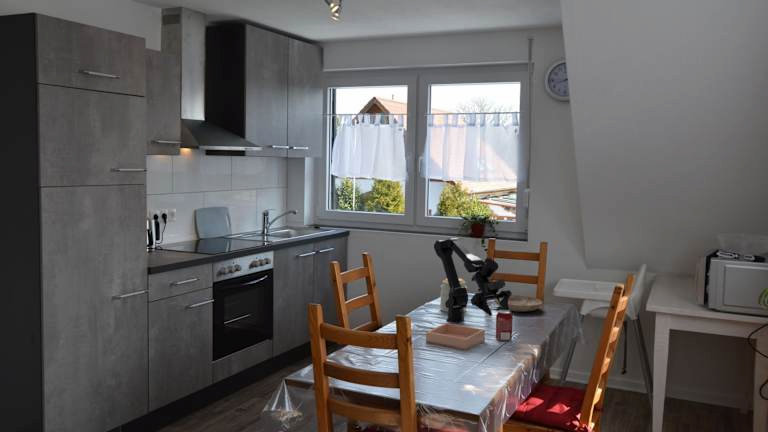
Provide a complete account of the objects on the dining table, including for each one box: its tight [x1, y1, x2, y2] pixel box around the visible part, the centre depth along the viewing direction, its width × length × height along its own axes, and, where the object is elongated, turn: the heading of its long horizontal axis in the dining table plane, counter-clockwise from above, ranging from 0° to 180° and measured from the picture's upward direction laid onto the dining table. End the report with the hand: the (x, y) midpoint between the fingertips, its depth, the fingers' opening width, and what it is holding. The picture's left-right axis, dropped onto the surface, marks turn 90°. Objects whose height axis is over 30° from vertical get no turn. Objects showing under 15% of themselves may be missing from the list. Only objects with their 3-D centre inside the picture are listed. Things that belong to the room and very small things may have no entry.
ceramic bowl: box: [494, 294, 543, 313], centre depth 343 cm, size 23×24×5 cm
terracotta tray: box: [425, 322, 486, 352], centre depth 283 cm, size 18×18×4 cm
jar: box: [439, 277, 468, 313], centre depth 337 cm, size 13×13×18 cm
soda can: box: [495, 309, 513, 342], centre depth 287 cm, size 7×7×12 cm
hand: (499, 314), depth 290 cm, fingers open, 9 cm apart
